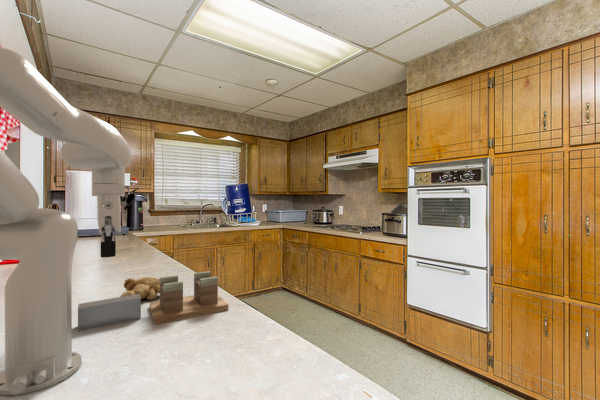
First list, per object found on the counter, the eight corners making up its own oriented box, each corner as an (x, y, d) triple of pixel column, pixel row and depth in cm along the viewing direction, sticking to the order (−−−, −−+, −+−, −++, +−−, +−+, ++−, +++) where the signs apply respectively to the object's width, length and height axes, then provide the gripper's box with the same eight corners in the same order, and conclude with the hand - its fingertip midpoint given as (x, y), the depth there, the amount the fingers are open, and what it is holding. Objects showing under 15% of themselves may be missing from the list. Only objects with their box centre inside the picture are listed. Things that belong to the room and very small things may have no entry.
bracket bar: (140, 319, 82) (140, 297, 82) (78, 332, 74) (77, 308, 74) (138, 314, 86) (138, 293, 85) (78, 326, 77) (78, 303, 77)
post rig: (228, 309, 89) (228, 278, 89) (154, 324, 78) (154, 288, 78) (215, 296, 101) (215, 268, 101) (149, 307, 90) (149, 276, 90)
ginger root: (163, 283, 111) (163, 263, 110) (173, 305, 99) (173, 283, 97) (114, 292, 102) (113, 271, 101) (118, 318, 90) (118, 294, 88)
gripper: (125, 190, 75) (125, 257, 75) (123, 192, 89) (123, 248, 89) (89, 189, 71) (89, 261, 71) (93, 191, 85) (93, 250, 85)
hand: (108, 254), depth 80 cm, fingers open, 9 cm apart
